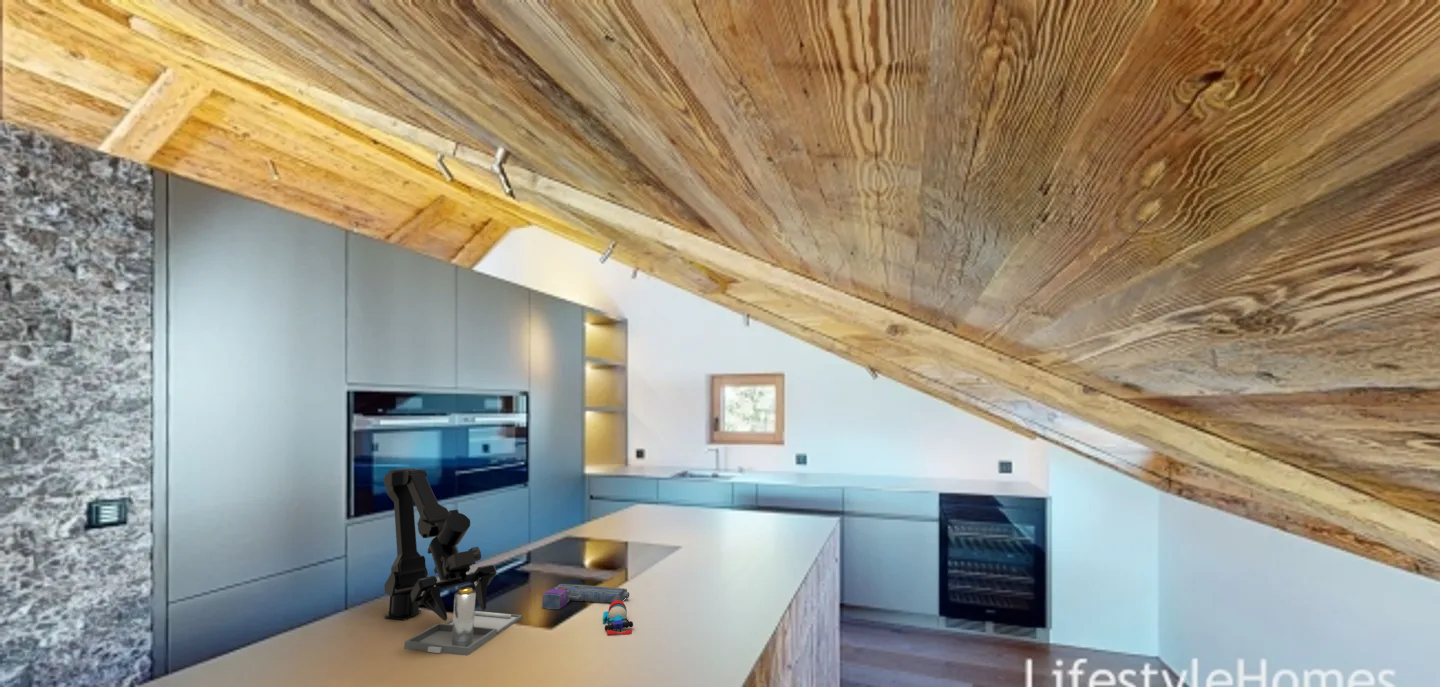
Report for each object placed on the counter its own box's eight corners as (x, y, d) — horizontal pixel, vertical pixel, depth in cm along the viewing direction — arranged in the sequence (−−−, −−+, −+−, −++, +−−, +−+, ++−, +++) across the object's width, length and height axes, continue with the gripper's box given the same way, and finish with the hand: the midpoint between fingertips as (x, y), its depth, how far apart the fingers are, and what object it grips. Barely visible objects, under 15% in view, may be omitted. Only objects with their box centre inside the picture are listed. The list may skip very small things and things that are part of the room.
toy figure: (634, 640, 150) (630, 610, 165) (633, 622, 150) (629, 593, 165) (604, 645, 149) (602, 614, 163) (603, 626, 148) (601, 597, 163)
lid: (437, 633, 148) (437, 624, 148) (467, 616, 160) (468, 607, 160) (495, 639, 145) (496, 630, 145) (522, 621, 157) (522, 612, 158)
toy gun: (615, 598, 164) (632, 584, 179) (536, 592, 168) (559, 579, 183) (614, 615, 164) (631, 600, 178) (535, 608, 168) (558, 594, 182)
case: (401, 654, 136) (402, 642, 136) (437, 633, 148) (438, 623, 148) (465, 661, 133) (466, 649, 133) (496, 639, 145) (497, 628, 145)
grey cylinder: (446, 649, 136) (450, 590, 138) (459, 641, 141) (462, 584, 142) (465, 651, 136) (468, 592, 137) (476, 643, 140) (480, 586, 141)
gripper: (419, 543, 137) (438, 603, 128) (495, 531, 151) (516, 585, 142) (402, 572, 141) (419, 632, 133) (477, 558, 155) (497, 612, 147)
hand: (465, 614), depth 138 cm, fingers open, 9 cm apart
